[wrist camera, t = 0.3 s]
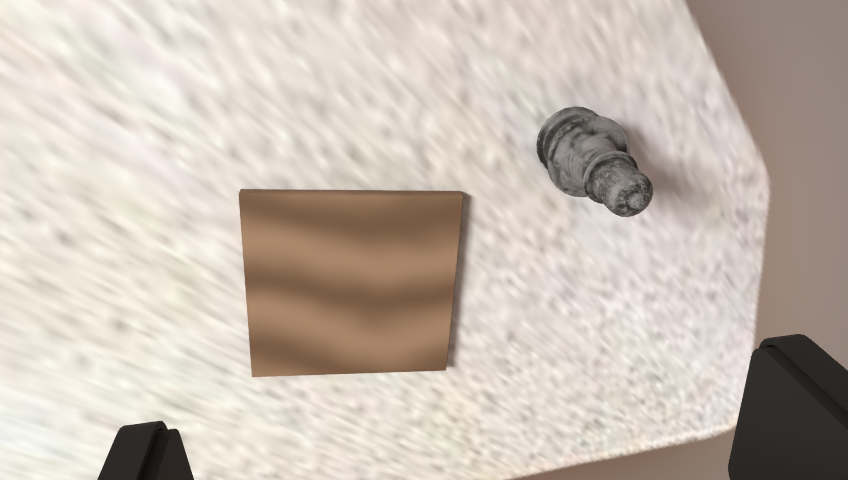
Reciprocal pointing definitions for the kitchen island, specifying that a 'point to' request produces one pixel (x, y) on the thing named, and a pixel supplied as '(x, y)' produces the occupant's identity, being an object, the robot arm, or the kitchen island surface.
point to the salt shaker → (593, 161)
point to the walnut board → (349, 279)
